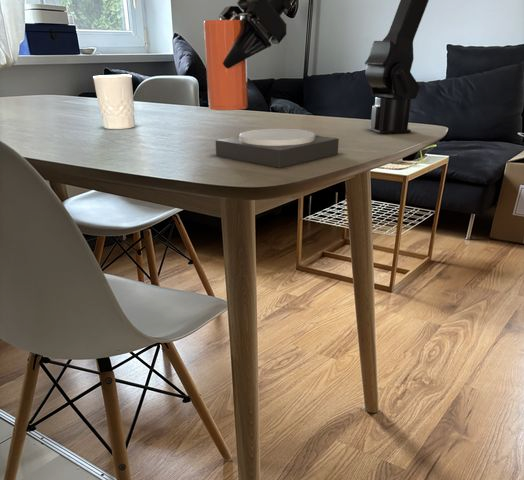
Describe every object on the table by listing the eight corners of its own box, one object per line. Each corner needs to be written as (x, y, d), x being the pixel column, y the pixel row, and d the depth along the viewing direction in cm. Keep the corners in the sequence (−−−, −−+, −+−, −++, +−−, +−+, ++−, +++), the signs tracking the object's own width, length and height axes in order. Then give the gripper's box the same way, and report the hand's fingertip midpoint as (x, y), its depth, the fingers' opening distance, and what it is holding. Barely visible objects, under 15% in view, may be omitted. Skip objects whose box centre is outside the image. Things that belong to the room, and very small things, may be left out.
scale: (274, 144, 91) (274, 125, 89) (337, 154, 83) (339, 133, 81) (216, 155, 83) (215, 134, 81) (279, 167, 74) (279, 144, 72)
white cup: (133, 129, 109) (126, 76, 104) (96, 129, 109) (87, 77, 104) (141, 124, 116) (135, 74, 111) (107, 124, 116) (99, 75, 111)
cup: (233, 105, 94) (230, 21, 87) (255, 108, 89) (253, 20, 83) (201, 108, 91) (195, 21, 84) (223, 111, 86) (218, 19, 79)
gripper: (227, -50, 87) (170, 27, 89) (267, -70, 72) (197, 23, 74) (270, 6, 93) (216, 77, 95) (315, -2, 78) (249, 82, 80)
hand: (218, 65), depth 86 cm, fingers closed on cup, 7 cm apart
